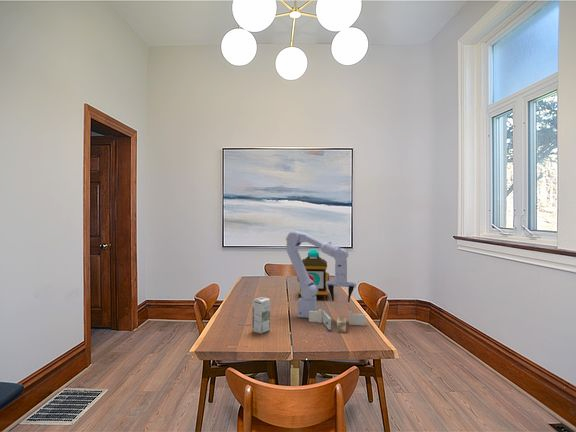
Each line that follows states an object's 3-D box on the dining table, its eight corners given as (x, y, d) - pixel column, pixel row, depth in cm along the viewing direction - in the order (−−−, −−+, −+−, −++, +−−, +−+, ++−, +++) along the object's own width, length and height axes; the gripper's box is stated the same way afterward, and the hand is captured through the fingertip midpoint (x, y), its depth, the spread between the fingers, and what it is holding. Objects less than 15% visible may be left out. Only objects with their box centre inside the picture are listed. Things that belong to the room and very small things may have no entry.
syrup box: (261, 327, 155) (261, 296, 155) (270, 330, 151) (270, 298, 151) (252, 331, 151) (252, 299, 150) (261, 334, 147) (261, 301, 147)
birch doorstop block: (336, 332, 150) (336, 322, 150) (337, 326, 158) (337, 316, 158) (345, 332, 150) (345, 322, 149) (346, 326, 157) (346, 316, 157)
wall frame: (308, 321, 163) (308, 309, 163) (309, 320, 165) (309, 308, 165) (365, 325, 158) (365, 313, 158) (365, 324, 159) (365, 312, 159)
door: (320, 321, 162) (320, 311, 162) (324, 321, 162) (324, 311, 162) (326, 330, 151) (326, 318, 151) (330, 329, 151) (331, 318, 151)
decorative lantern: (329, 293, 219) (329, 247, 219) (329, 301, 200) (330, 250, 199) (298, 292, 221) (298, 246, 221) (296, 300, 202) (296, 250, 201)
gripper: (325, 274, 163) (325, 302, 163) (356, 275, 160) (355, 304, 160) (326, 271, 170) (326, 298, 170) (356, 273, 167) (356, 300, 167)
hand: (340, 301), depth 166 cm, fingers open, 7 cm apart
